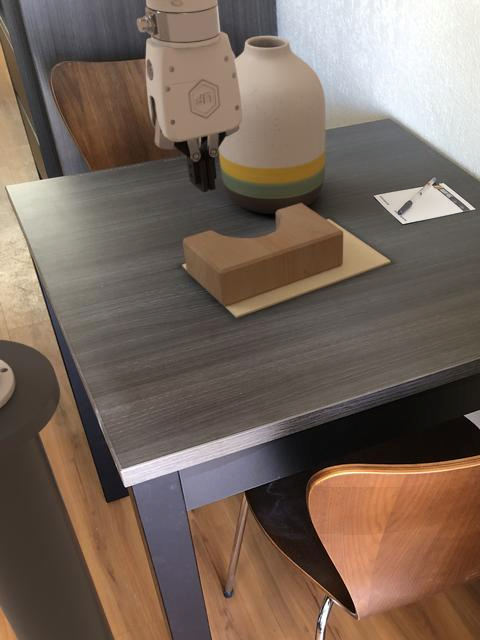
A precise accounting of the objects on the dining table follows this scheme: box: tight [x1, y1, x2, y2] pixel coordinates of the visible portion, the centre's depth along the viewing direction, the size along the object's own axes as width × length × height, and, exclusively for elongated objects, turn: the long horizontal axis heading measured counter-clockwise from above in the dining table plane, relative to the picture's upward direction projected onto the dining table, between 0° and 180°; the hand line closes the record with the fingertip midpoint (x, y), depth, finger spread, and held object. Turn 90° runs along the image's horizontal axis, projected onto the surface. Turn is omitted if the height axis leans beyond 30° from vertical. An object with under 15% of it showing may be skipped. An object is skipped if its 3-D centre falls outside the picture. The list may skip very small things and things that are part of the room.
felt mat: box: [181, 218, 391, 319], centre depth 107 cm, size 26×16×1 cm, turn 125°
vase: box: [218, 35, 326, 215], centre depth 114 cm, size 17×17×24 cm
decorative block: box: [182, 203, 343, 307], centre depth 103 cm, size 11×6×20 cm
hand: (204, 186), depth 92 cm, fingers closed
